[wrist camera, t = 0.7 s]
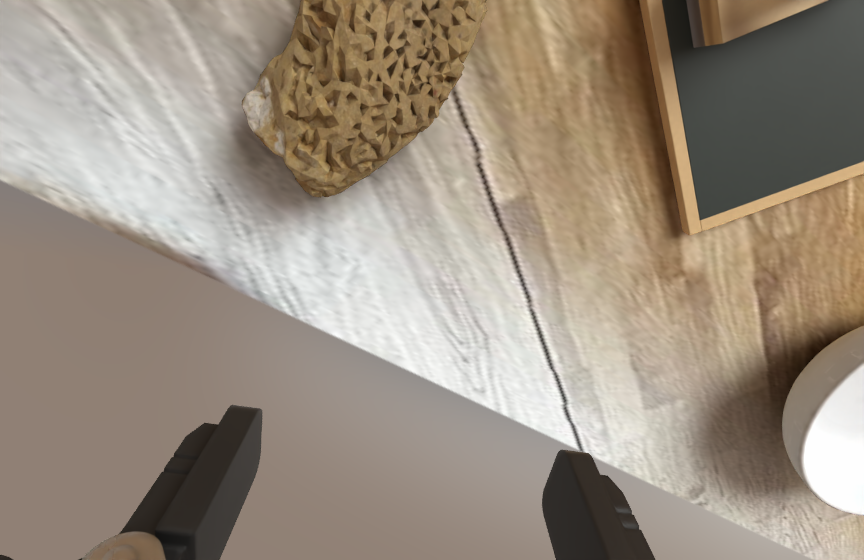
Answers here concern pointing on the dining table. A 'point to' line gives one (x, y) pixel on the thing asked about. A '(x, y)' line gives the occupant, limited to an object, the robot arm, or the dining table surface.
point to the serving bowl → (830, 424)
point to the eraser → (737, 17)
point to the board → (758, 108)
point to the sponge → (359, 84)
